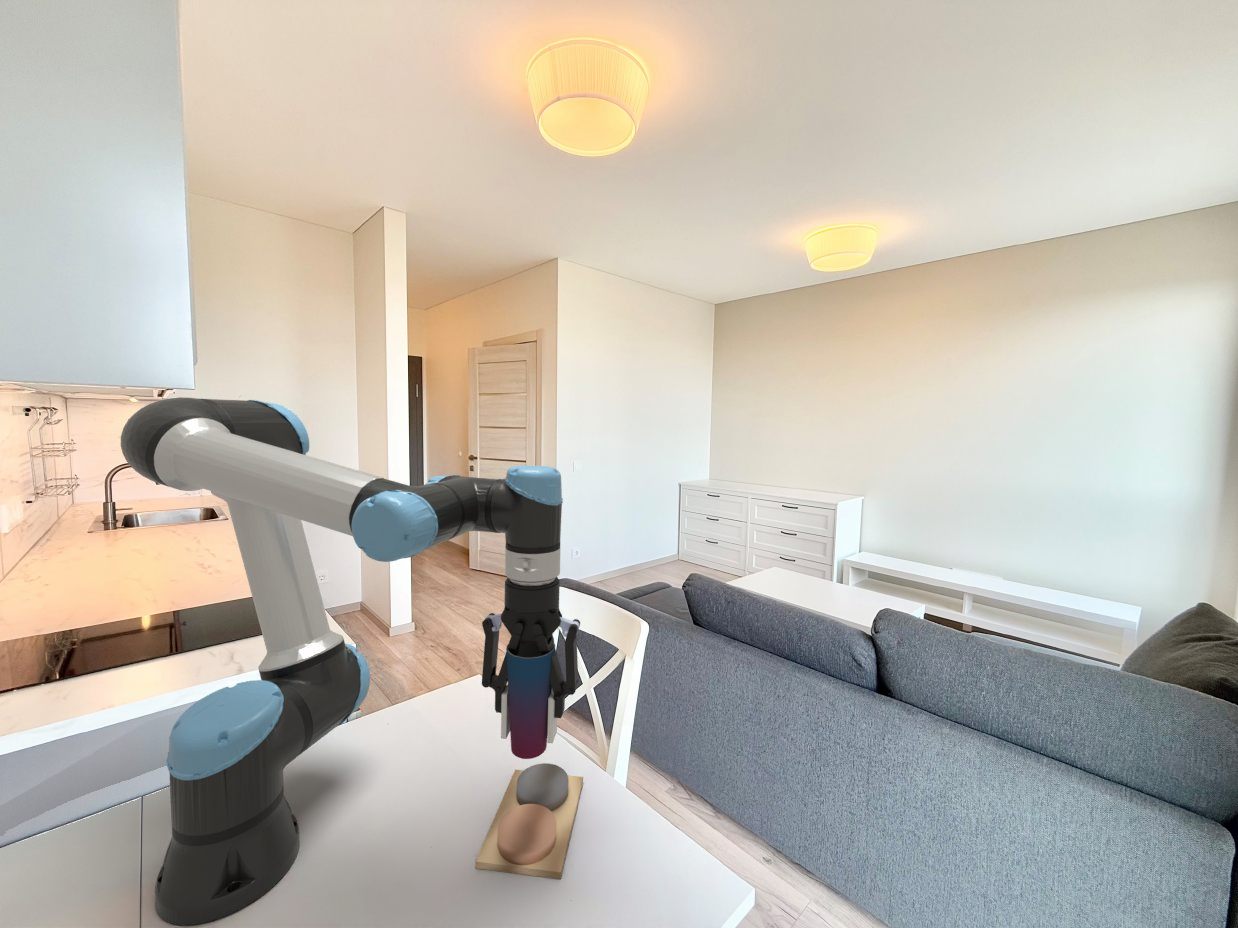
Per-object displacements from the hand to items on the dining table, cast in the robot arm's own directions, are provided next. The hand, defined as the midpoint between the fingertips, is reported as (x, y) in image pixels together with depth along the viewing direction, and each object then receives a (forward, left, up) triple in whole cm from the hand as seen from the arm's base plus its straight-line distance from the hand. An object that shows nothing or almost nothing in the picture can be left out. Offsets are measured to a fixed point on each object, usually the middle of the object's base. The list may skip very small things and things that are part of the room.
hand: (529, 734), depth 70 cm
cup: (0, 0, -2) cm, 2 cm away
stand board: (0, +4, -17) cm, 18 cm away
